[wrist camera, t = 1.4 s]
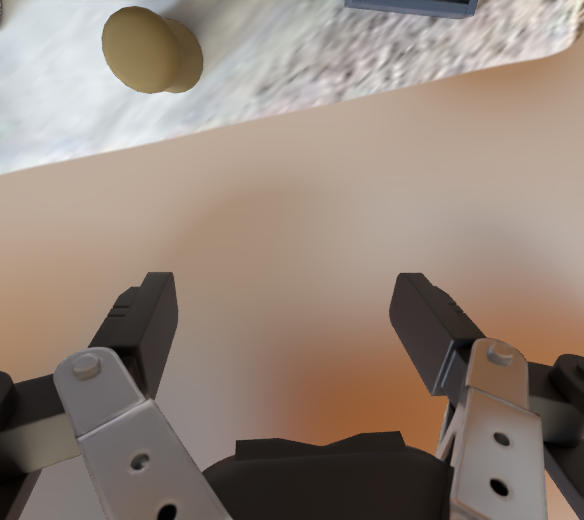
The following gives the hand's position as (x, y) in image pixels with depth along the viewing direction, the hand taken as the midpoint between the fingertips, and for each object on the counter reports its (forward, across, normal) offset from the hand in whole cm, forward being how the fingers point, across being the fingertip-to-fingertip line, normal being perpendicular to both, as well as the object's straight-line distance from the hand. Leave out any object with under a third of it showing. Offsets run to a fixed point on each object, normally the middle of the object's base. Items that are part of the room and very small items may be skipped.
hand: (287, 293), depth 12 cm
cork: (+28, +9, -8) cm, 31 cm away
